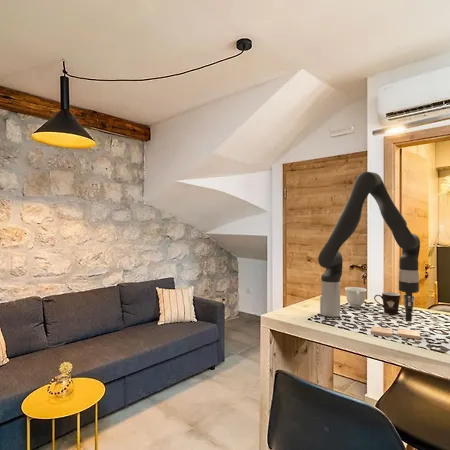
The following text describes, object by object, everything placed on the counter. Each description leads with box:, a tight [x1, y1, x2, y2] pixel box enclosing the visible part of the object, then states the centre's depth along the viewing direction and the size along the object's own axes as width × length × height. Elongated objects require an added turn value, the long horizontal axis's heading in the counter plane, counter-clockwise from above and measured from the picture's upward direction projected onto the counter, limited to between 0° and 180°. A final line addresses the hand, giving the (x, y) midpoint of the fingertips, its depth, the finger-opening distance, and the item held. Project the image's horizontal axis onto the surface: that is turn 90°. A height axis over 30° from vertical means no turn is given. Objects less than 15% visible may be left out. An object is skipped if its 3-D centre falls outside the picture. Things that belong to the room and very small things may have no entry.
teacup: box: [344, 286, 368, 309], centre depth 180 cm, size 12×15×10 cm
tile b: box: [397, 328, 421, 340], centre depth 134 cm, size 8×2×7 cm
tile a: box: [370, 326, 393, 338], centre depth 137 cm, size 8×2×7 cm
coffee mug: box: [373, 291, 401, 315], centre depth 170 cm, size 12×9×10 cm
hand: (408, 320), depth 137 cm, fingers closed
